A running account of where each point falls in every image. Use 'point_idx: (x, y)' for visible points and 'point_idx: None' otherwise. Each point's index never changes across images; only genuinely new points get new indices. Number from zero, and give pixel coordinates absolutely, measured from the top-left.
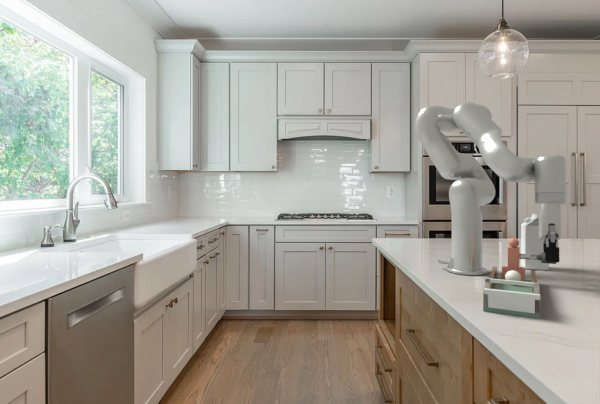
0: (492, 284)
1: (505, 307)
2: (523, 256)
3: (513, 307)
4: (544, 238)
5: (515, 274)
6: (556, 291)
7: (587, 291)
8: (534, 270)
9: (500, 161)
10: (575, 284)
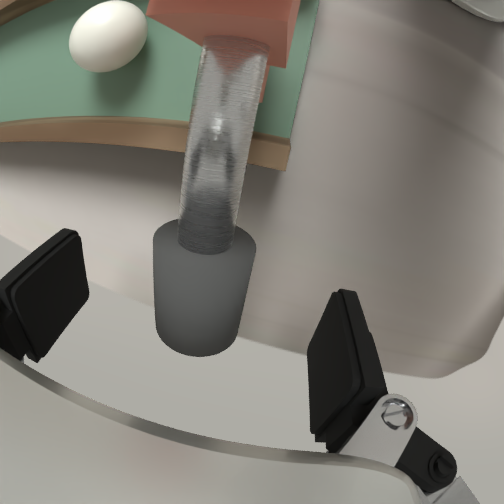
0: (4, 13)
1: None
2: (197, 76)
3: None
4: (340, 451)
5: (70, 48)
6: (145, 208)
7: None
8: (256, 161)
9: None
10: (307, 312)
